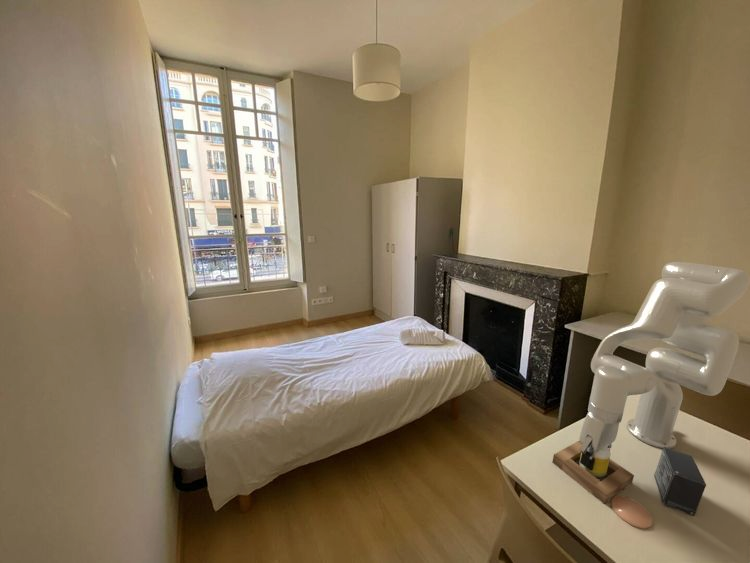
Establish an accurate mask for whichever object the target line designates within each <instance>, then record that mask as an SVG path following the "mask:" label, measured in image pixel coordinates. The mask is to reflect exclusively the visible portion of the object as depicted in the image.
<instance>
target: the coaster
mask: <svg viewBox="0 0 750 563" xmlns="http://www.w3.org/2000/svg"><path fill="white" fill-rule="evenodd" d="M610 504H611V505H610V506H611V507H612V510H613V511H614V513H615V514H616V515H617V516H618V517H619V518H620V519H621V520H623V522H625V523H627V524H629V525H630V526H632V527H635V528H637V529H643V530H645V529H650V528H651V526H652V525H653V519H652V516H651V514H650V513H649V511H648V510H647V509H646V508H645V507H644V506H643V505H642V504H640V503H639V502H637V501H636V500H635V499H632V498H630V497H627V496H623V495H616V496H614V497H613V498H612V499H611V503H610Z"/></svg>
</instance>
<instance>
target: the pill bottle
mask: <svg viewBox="0 0 750 563" xmlns="http://www.w3.org/2000/svg"><path fill="white" fill-rule="evenodd" d="M591 446H592V444H591ZM592 447H593V446H592ZM592 451H593V450H592V449H590V448H588V452H589V453H590V454H591V453H592ZM581 455H582V453H581ZM594 459H595V462H594V467H593V470H592V471H591V470H589V469H588V468H587V467H585V466H584V465H582V464H581V463H580V460H581V457H580V460H579V462H578V465H580V466H581V467H582V468H584V469H585V470H586V471H588V472H589V473H590V474H592V475H593V476H594V477H596V478H597V479H598V480H600V481H602V480H603V479H605V478H606V476H607V474H606V473H607V468H608V464H609V459H611V449H610V450H609V448H608V444H607V445H606V446H605V447H604V449H602V450H600V451H598V452H596V454H595V456H594Z"/></svg>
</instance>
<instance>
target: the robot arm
mask: <svg viewBox="0 0 750 563" xmlns="http://www.w3.org/2000/svg"><path fill="white" fill-rule="evenodd" d="M749 286H750V276H749V274H748V273H747V272H746V271H745V270H742V269H739V268H738V269H737V268H731V267H725V266H718V265H717V266H716V265H709V264H704V263H695V262H688V261H687V262H686V261H672V262H667V263H665V265H663V268H662V270H661V278H660V279H658V280H656V281H655V282H653V284H652V285H651V288H650V289H649V291H648V293H647V295H646V297H644V300H643V302H642V304H641V306H640V308H639V310H638V312H637V314H636V316H635V317H634V320H633V321H632V322H631V323H630V324H627V325H625V326H622V327H620V328H618V329H615V330H613V331H612V332H611V333H609V334H607V335H606V336H605V337H604V338H603V339H602V340H601V341H600V343H599V345H598V347H597V348H596V351H595V352H594V354H593V357H592V358H591V362H590V368H591V371H592V373H594V376H593V382H592V387H591V393H590V396H589V401H588V406H587V407H588V408H587V411H588V412H587V414H586V416H585V418H584V420H583V424H582V426H581V431H580V434H579V439H578V441H580V442H581V443H583V444H582V445H581V447H580V448H579V450H580V451H581V453H582V455H581V460H579V462H580V463H581V464H582V465H584V466H585V467H587V468H588V469H589V470H591V471H592V470H593V467H594V462H595V459H594V456H595V454H596V452H598V451H600V450H602V449H604V447H605V446H606V445H607V444H608V449H609V450H610V451H611V448H612V446H613V445H612V444H613V443H614V442H615V441H616V439H617V437H618V431H619V424H620V423H621V422H622V419H623V415H624V411H625V408H626V402H627V398H628V396H636V395H640V396H639V400H638V404H637V408H636V411H635V416H634V418H631V419H629V420H628V421H627V422H626V428H627V430H628V432H629V433H630V434H631V435H632V436H634V437H635V438H636V439H639V440H640V441H642V442H643V443H645V444H647V445H650V446H652V447H653V446H654V447H656V448H661V449H663V447H666V448H669V449H673V448H675V447H676V445H677V443H678V442H677V441H678V440H677V439H676V437H675V436H674V434H673V431H674V427H675V425H676V422H677V417H678V415H679V412H680V409H681V404H682V401H683V397H684V394H683V390H682V388H681V386H682V387H684V388H687V389H690V390H692V391H695V392H698V393H700V394H702V395H706V396H710V397H711V396H717V395H718V394H720V393H721V392H722V390H723V389H724V387H725V385H726V383H727V380H728V378H729V375H730V373H731V369H732V366H733V365H734V364H733V363H734V361H735V359H736V356H737V354H738V350H739V346H740V339H739V336H738V334H737V333H736V332H734V331H733V330H731V329H728V328H726V327H722V326H717V325H713V324H710V323H708V321H707V319H708V318H715V317H717V316H720V315H722V314H723V313H724V312H725V311H727V309H729V308H730V307H731V306H732V305H734V304H735V303H736V302H737V301H738V300H740V299H741V298H742V296H744V294H746V292H747V291H748V289H749ZM635 340H662V342H664V343H665V344H666V345H667V344H668V345H669V346H672V347H674V348H677V349H680V350H683V351H686V352H689V353H693V354H696V355H698V356H701V357H704V359H705V360H704V359H702V358H697V357H696V356H692V355H690V354H687V353H684V352H682V351H681V352H680V351H678V350H674V349H672V348H666V347H660V346H659V347H654V348H652V349H650V350H649V351H648V353H647V354H646V358H645V367H644V366H642V365H639V364H638V363H634V362H632V361H629V360H628V359H627V360H626V359H624V358H622V357H619V356H617V355H615V354H613V353H614V352H615V350H616V349H617V348H618V347H619V346H620V345H623V344H624V343H627V342H630V341H635ZM591 444H592V446H593V447H592V446H591ZM588 448H590V449H592V450H593V451H592V453H591V454H590V453H589V452H588Z"/></svg>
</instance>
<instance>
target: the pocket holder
mask: <svg viewBox="0 0 750 563" xmlns="http://www.w3.org/2000/svg"><path fill="white" fill-rule="evenodd" d="M582 444H583V443H581V442H580V441H579V440H578V441H576V442H574V443H572V444H570V445H568V446H567V447H564V448H563V449H561V450H559V451H557V452H556V453H554V454H553V457H552V464H554V465H555V466H556V467H557V468H559V469H560V470H561V471H563V473H564V474H566V475H567V476H569V477H570V478H571V479H572V480H574V481H575V482H576V483H577V484H578V485H580V487H582V488H583V489H585V490H586V491H587V492H588V493H590V494H591V495H592V496H593V497H595V498H596V499H597V500H599V501H600V502H601V503H602V504H604V505H605V504H607V502H609V501H611V500H612V499H613V497H615V496H618V495H619V494H620V493H621V492H622V491H624V490H625V489H627V488H628V487H629V486H630V485H632V484H633V482H634V477H635V475H634V474H633V473H631V471H629V470H627V469H626V468H624V467H623V466H621V465H620V464H618V463H616V462H615V461H613V460H612V459H611V458H610V459H609V464H608V468H607V473H606V476H607V477H606V476H605V478H604V479H602V480H598V479H597V478H596V477H594V476H593V475H592V474H590V473H589V472H588V471H586V470H585V469H584V468H582V467H581V466H580V465H579V463H577V462H578V461H580V457H581V451H580V450H579V448H580V447H581V445H582Z"/></svg>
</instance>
